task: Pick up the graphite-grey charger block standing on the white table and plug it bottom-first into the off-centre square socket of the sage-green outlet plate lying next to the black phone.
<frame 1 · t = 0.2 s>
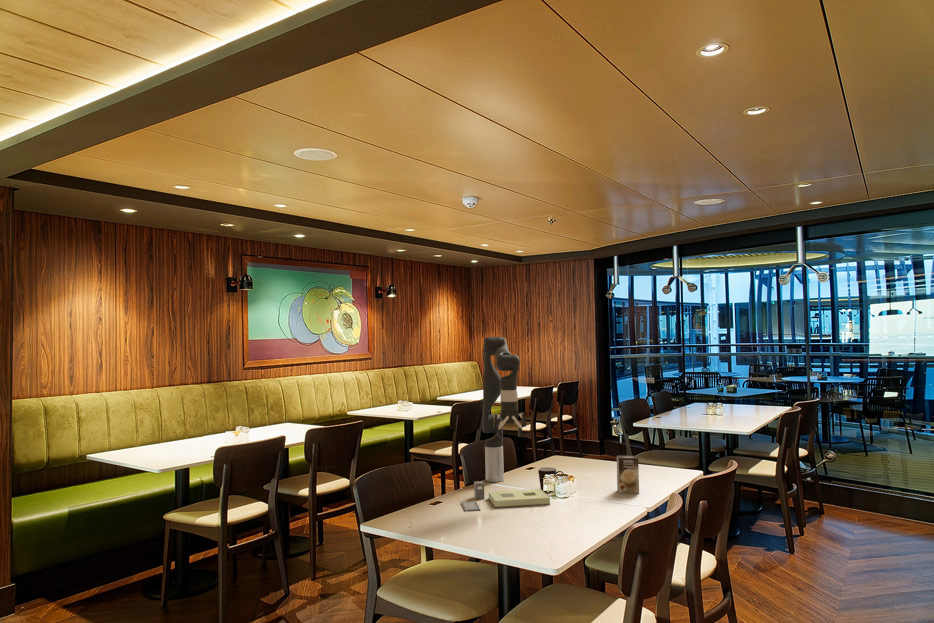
hand: (510, 437, 264), 28 cm above the table, fingers open, 8 cm apart
coffee mug: (550, 491, 283), on the table
phone: (470, 508, 258), on the table
outlet plate: (518, 501, 265), on the table
charger: (479, 498, 272), on the table
coffee box: (628, 492, 277), on the table
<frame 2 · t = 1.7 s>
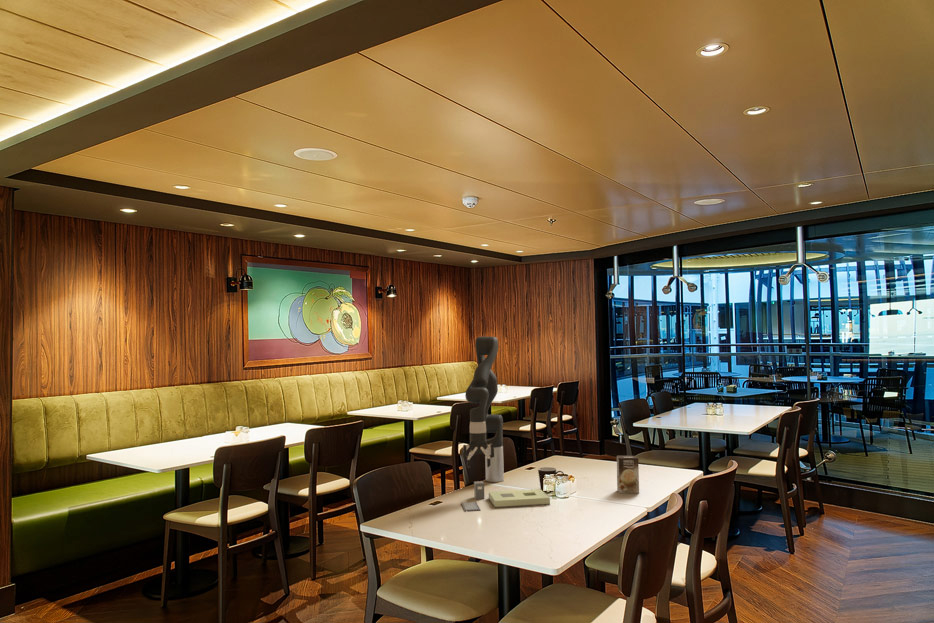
hand: (478, 467, 273), 14 cm above the table, fingers open, 8 cm apart
nothing on the table moved.
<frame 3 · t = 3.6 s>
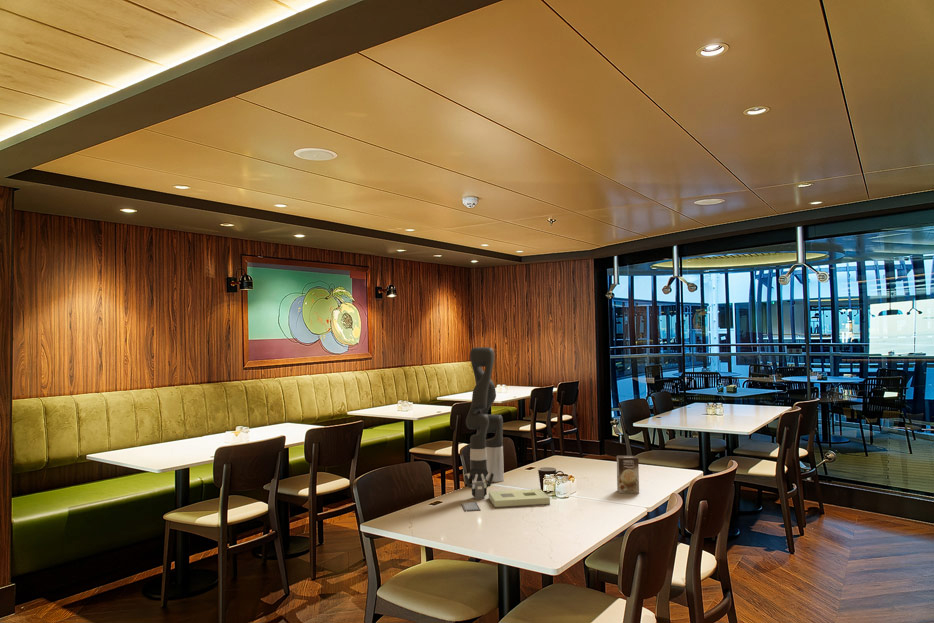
hand: (479, 496, 272), 1 cm above the table, fingers closed on charger, 4 cm apart
charger: (479, 498, 272), on the table, touching gripper
everything else where it was.
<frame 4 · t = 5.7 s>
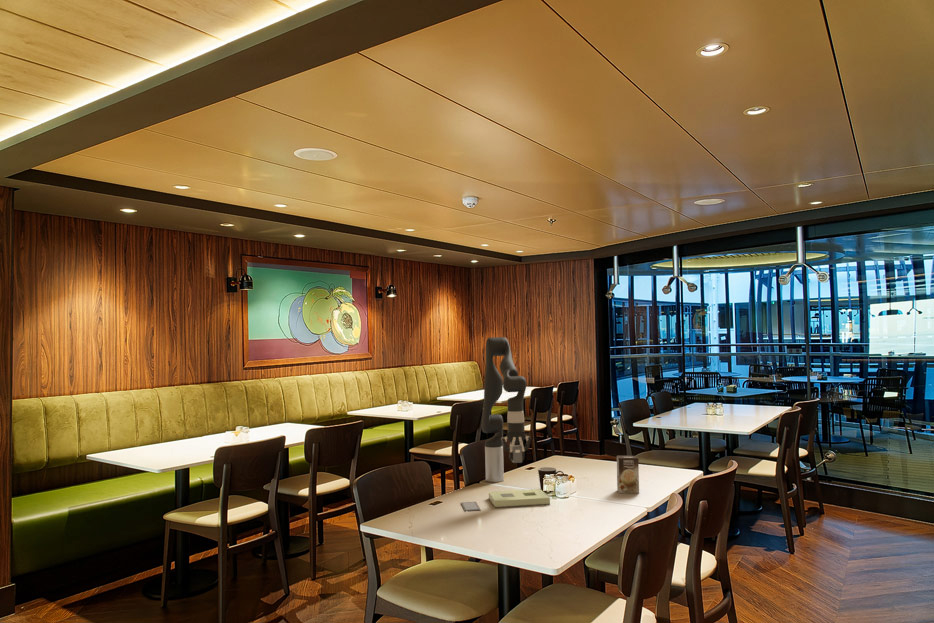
hand: (517, 460, 267), 18 cm above the table, fingers closed on charger, 4 cm apart
charger: (517, 461, 267), point 17 cm above the table, touching gripper
everything else where it was.
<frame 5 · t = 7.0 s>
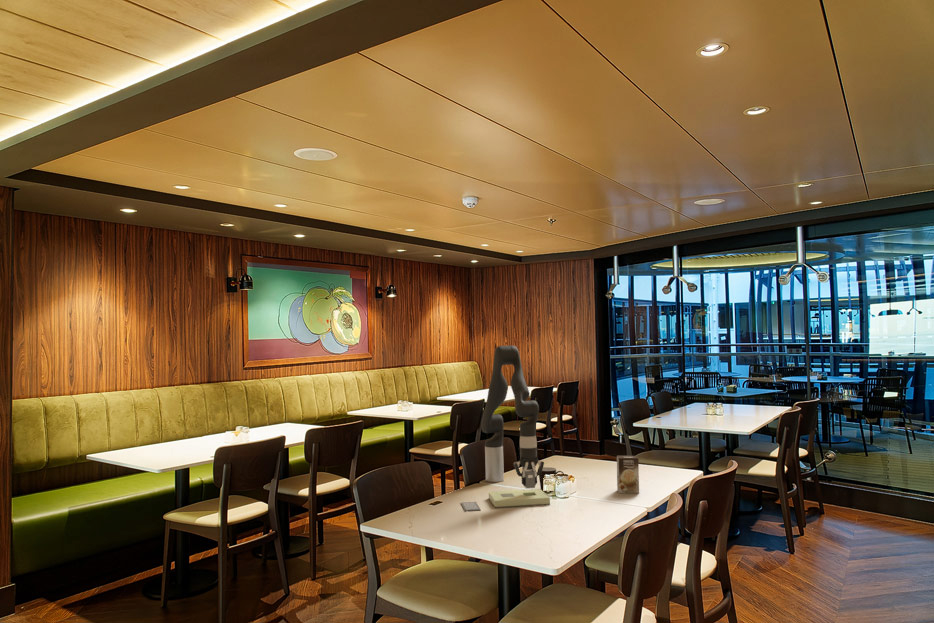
hand: (529, 485, 265), 7 cm above the table, fingers closed on charger, 4 cm apart
charger: (529, 487, 265), point 6 cm above the table, touching gripper
everything else where it was.
when the fingers open (3 cm above the table, at t = 8.1 s): charger drops 2 cm, resting on outlet plate.
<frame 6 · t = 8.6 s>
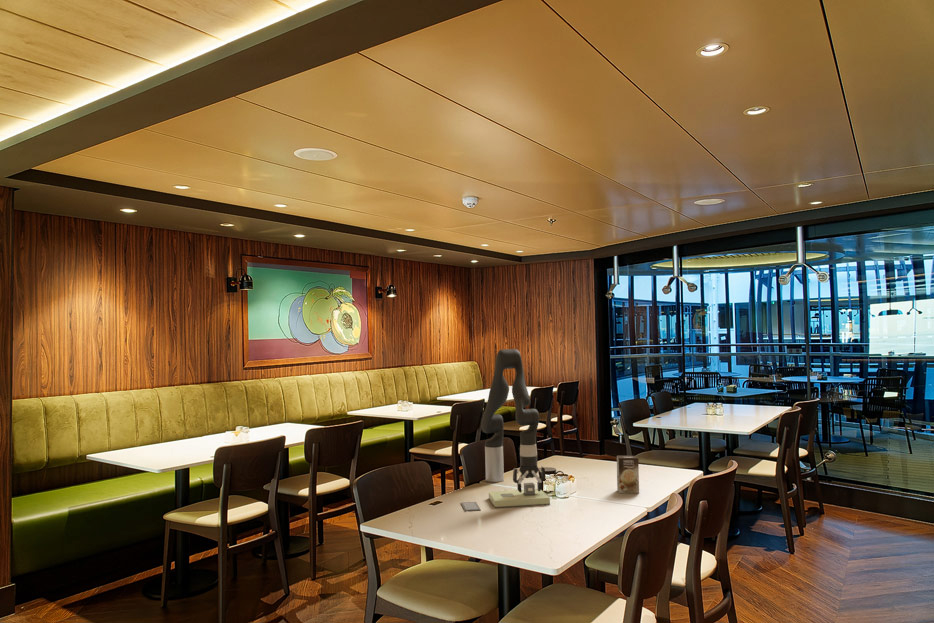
hand: (529, 491, 265), 4 cm above the table, fingers open, 8 cm apart
charger: (529, 499, 265), resting on outlet plate
everything else where it was.
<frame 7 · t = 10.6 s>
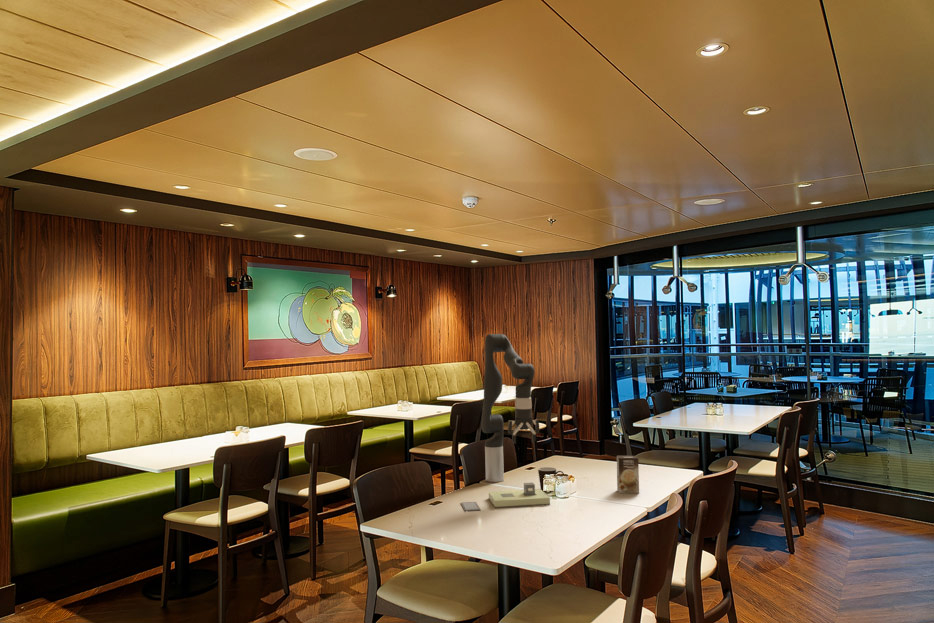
hand: (523, 442, 274), 24 cm above the table, fingers open, 8 cm apart
nothing on the table moved.
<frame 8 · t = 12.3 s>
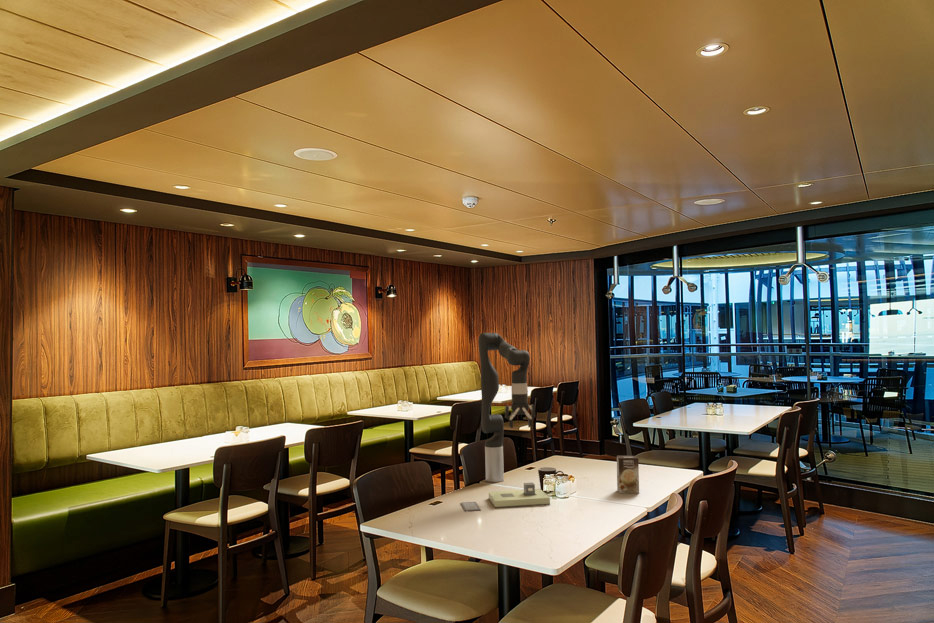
hand: (520, 427, 282), 30 cm above the table, fingers open, 8 cm apart
nothing on the table moved.
at the end: charger 0.1 cm from the target spot on the outlet plate, point 0.5 cm above the outlet plate's base; charger tilted 0°; the gripper is holding nothing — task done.
